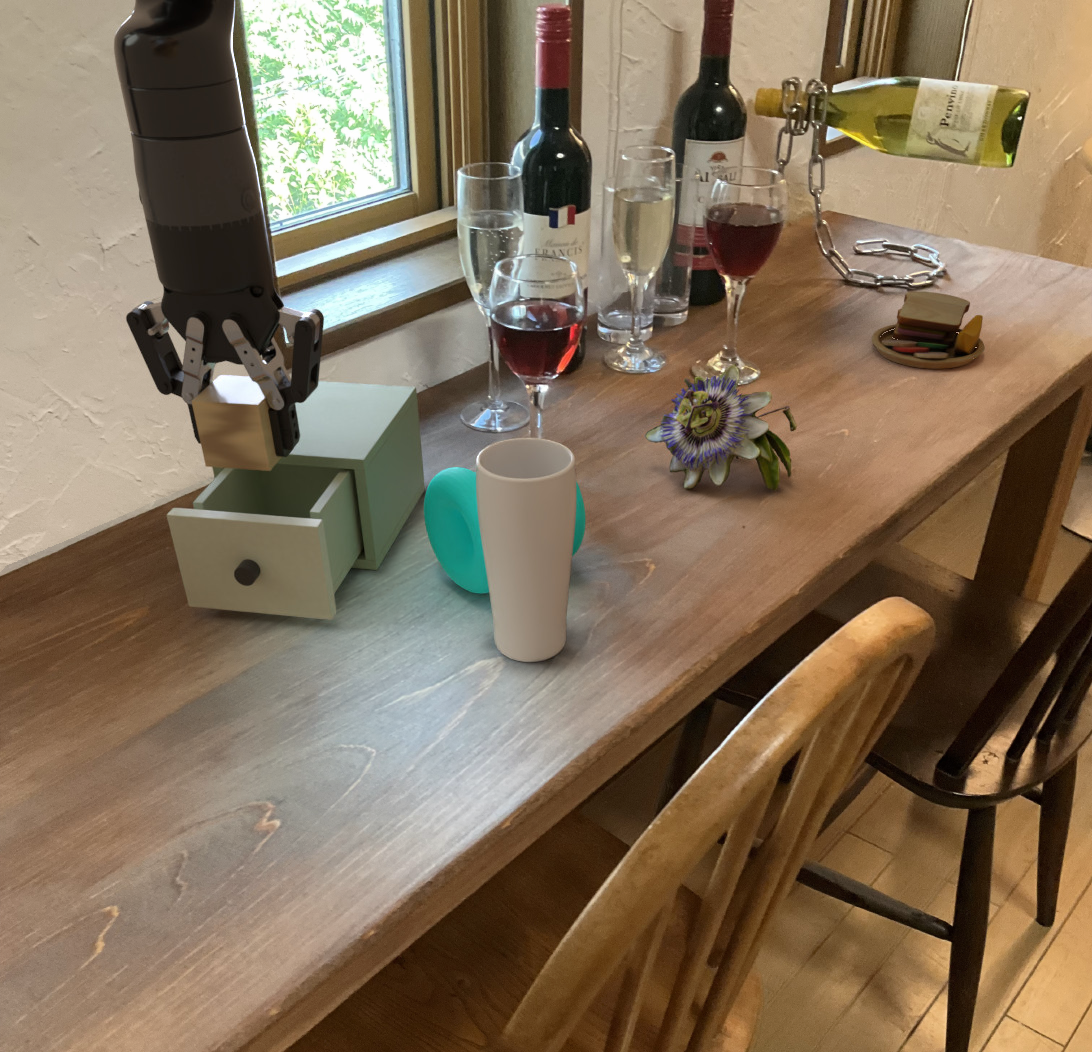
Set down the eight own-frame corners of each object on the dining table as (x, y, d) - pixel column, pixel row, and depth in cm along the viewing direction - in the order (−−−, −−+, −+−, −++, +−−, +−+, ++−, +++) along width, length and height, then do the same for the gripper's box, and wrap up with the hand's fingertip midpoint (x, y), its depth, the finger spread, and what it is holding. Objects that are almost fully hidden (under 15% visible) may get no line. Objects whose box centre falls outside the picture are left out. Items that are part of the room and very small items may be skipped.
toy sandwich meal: (855, 359, 128) (861, 317, 125) (891, 324, 137) (899, 284, 134) (965, 379, 123) (975, 336, 120) (996, 341, 132) (1006, 300, 129)
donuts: (592, 577, 92) (594, 463, 85) (491, 619, 87) (485, 501, 81) (519, 531, 98) (516, 421, 92) (422, 567, 93) (411, 454, 87)
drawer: (326, 629, 84) (311, 535, 80) (182, 615, 86) (158, 522, 81) (384, 534, 96) (374, 446, 91) (256, 523, 98) (239, 437, 93)
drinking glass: (470, 660, 83) (457, 470, 73) (507, 613, 88) (499, 430, 78) (555, 679, 81) (553, 487, 71) (588, 630, 85) (591, 444, 76)
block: (205, 466, 83) (191, 400, 79) (232, 438, 86) (219, 374, 83) (270, 471, 82) (258, 405, 79) (294, 442, 86) (284, 378, 82)
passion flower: (689, 538, 107) (619, 435, 103) (736, 475, 113) (672, 374, 109) (784, 506, 99) (712, 391, 94) (829, 439, 105) (764, 328, 100)
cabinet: (377, 570, 93) (363, 459, 87) (231, 557, 95) (208, 448, 89) (425, 489, 104) (416, 386, 98) (293, 479, 106) (277, 378, 100)
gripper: (327, 194, 75) (357, 435, 86) (128, 187, 77) (181, 423, 88) (287, 225, 69) (324, 479, 80) (72, 216, 71) (137, 465, 82)
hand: (249, 449), depth 84 cm, fingers closed on block, 5 cm apart
